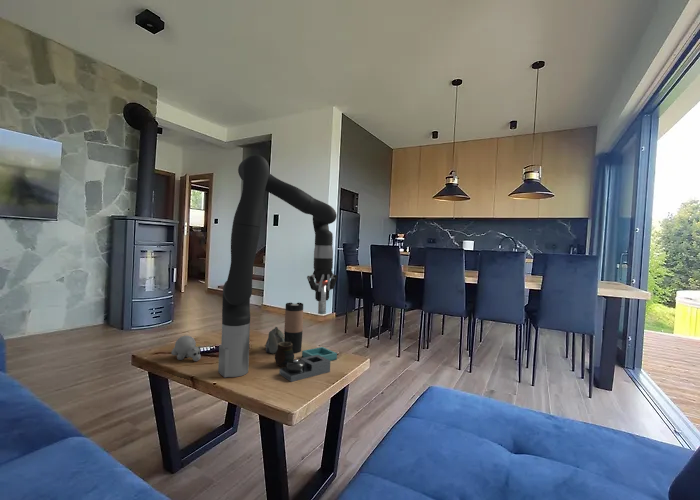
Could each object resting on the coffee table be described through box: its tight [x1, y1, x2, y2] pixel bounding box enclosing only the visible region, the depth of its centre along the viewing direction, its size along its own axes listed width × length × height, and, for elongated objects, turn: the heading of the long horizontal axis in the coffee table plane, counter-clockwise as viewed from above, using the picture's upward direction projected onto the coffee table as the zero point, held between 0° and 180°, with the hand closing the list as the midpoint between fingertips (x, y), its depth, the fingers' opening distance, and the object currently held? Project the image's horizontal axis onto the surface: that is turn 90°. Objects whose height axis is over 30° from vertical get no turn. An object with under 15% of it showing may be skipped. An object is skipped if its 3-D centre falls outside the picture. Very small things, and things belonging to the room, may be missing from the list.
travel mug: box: [283, 302, 304, 354], centre depth 143 cm, size 8×8×20 cm
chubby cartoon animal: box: [170, 335, 202, 362], centre depth 128 cm, size 7×12×8 cm, turn 65°
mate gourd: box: [274, 341, 295, 368], centre depth 126 cm, size 7×8×10 cm
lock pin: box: [317, 280, 328, 315], centre depth 134 cm, size 4×4×13 cm
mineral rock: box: [264, 326, 284, 355], centre depth 145 cm, size 13×11×10 cm
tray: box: [301, 346, 338, 362], centre depth 135 cm, size 10×10×2 cm
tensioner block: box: [278, 355, 331, 383], centre depth 119 cm, size 16×8×5 cm, turn 130°
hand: (322, 300), depth 134 cm, fingers closed on lock pin, 3 cm apart
